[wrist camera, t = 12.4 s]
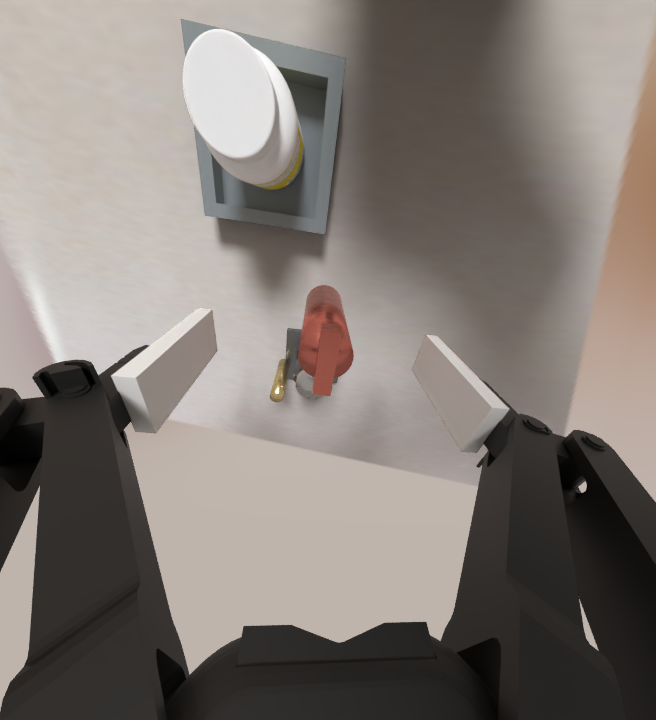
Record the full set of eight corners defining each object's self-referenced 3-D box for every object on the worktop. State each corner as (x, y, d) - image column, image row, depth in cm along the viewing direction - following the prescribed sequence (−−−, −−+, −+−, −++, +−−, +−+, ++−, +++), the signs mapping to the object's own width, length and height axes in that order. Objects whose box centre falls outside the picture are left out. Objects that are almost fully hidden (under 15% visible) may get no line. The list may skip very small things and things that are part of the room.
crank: (326, 390, 27) (330, 483, 18) (296, 387, 27) (283, 481, 17) (346, 278, 20) (369, 335, 11) (305, 273, 20) (293, 326, 11)
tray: (199, 44, 16) (180, 18, 14) (342, 77, 17) (346, 57, 15) (216, 215, 21) (204, 215, 19) (324, 232, 22) (325, 234, 20)
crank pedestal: (280, 327, 27) (270, 356, 22) (345, 334, 28) (351, 364, 23) (278, 374, 31) (269, 409, 26) (336, 380, 32) (339, 415, 26)
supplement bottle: (225, 107, 17) (135, 8, 9) (297, 94, 17) (275, -20, 9) (248, 196, 20) (197, 185, 12) (310, 186, 20) (302, 167, 11)
